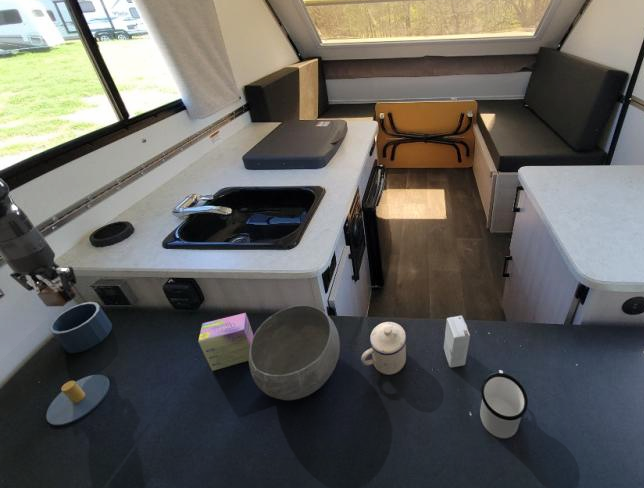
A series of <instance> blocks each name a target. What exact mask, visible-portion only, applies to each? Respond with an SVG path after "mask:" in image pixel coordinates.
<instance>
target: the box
mask: <svg viewBox="0 0 644 488" xmlns="http://www.w3.org/2000/svg"><path fill="white" fill-rule="evenodd" d="M254 335H255V334H254V333H253V330H252V327H251V324H250V321H249V317H248V315H247V312H243V313H239V314H235V315H231V316H226V317H223V318H218V319H215V320H211V321H206V322H202V324H201V328H200V333H199V337H198V340H197V342H198V344H199V346H200V349H201V351H202V353H203V355H204V358H205V359H206V362H207V363H208V366H209V368H210V369H211V371H212V372H214V371H217V370H221V369H224V368H228V367H231V366H234V365H238V364H241V363H245V362H249V350H250V345H251V342H252V339H253V337H254Z"/></svg>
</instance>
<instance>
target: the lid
mask: <svg viewBox="0 0 644 488" xmlns="http://www.w3.org/2000/svg"><path fill="white" fill-rule="evenodd" d="M110 383H111V382H110V379H109V378H108V376H106V375H104V374H91V375H87V376H85V377H82V378H80V379H78V380H76V381H75V380H68V381H67V382H65V383H64V384H63V385H62V386H61V388H60V390H61V391H60V392H59V393H58V395H56V397H55V398H54V399H53V400H52V402H51V403H50V404H49V406H48V408H47V410H46V414H45V419H46V421H47V423H48V424H49V425H51V426H53V427H62V426H63V427H64V426H67V425H70V424H73V423H75V422H77V421H79V420H81V419H83V418H84V417H86V416H87V415H89V414H90V413H92V412H93V411H94V410H95V409H96V408H97V407H98V406H99V405H101V403H102V402H103V401H104V399H105V398H106V397H107V395H108V393H109V390H110V386H111V384H110Z"/></svg>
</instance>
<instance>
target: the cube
mask: <svg viewBox="0 0 644 488" xmlns="http://www.w3.org/2000/svg"><path fill="white" fill-rule="evenodd" d="M69 282H70V281H69ZM59 285H60V286H62V283H61V282H59ZM71 289H72V290H73V291H74V293H75V296H77V295H78V292H77V290H76V288H75V287H74V285H73V286H72V287H71ZM36 295H37V296H38V298H39V299H40V300H41V302H42V303H43V304H44V305H45V307H64V306H65V305H67V304H68V302H66V301H65V300H64V298H63V297H62V296H61V294H60V293H59V291H58V290H57V289H55V288H54V287H50V286H47V287H46V288H44V289H43V290H42V291H41V292H39V293H38V292H37V293H36Z"/></svg>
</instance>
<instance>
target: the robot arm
mask: <svg viewBox="0 0 644 488" xmlns="http://www.w3.org/2000/svg"><path fill="white" fill-rule="evenodd" d="M0 257H1V258H2V259H3V260H4V262H5V263H6V264H7V266H8V267H9V268H10V269H11V270H12V272H11V273H10V274H9V276H10V277H11V278H12V279H13V280H14V281H16V282H17V283H18V284H19V285H21V286H22V288H24V289H25V290H27V291H29V292H31V291H33V290H34V292H35V293H37V294H38V293H39V292H41V291H42V290H43V289H44V288H46V287H47V286H50V287H54V288H55V289H57V290H58V291H59V293H60V294H61V296H62V297H63V298H64V300H65V301H66V302H67V303H69V302H71V301H73V299H75V298H76V295H75V293H74V291H73V290H72V289H71V287H72V286H73V287H74V286H75V285H76V284H77V279H76V275H75V271H74V269H73V267H72V266H67V267H65V268H64V267H61V266H60V265H59V264H58V263H56V262H55V258H56V253H55V252H54V250H53V249H52V247H51V246H50V245H49V243H48V242H47V240H46V239H45V237H44V235H43V234H42V233H41V231H39V229H37V228H36V227H35V225H34V224H33V222H32V221H31V219H30V218H29V216H28V215H27V214H26V213H25V211H24V210H23V209H22V208H21V207H19V206H18V205H17V204H16V202H15V200H14V199H13V198H12V196H11V194H10V188H9V185H8V183H6V181H5V180H3V179H2V178H1V177H0ZM69 281H70V282H69ZM59 282H61V283H62V286H60V285H59Z"/></svg>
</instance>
